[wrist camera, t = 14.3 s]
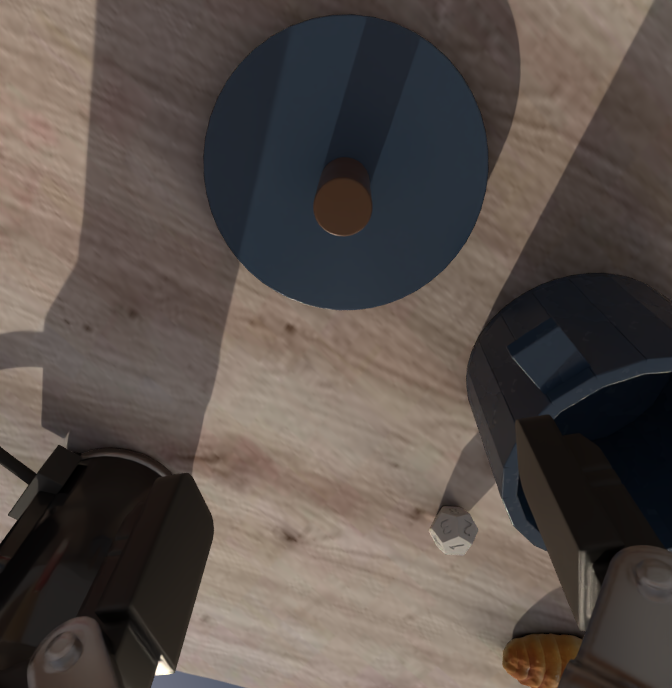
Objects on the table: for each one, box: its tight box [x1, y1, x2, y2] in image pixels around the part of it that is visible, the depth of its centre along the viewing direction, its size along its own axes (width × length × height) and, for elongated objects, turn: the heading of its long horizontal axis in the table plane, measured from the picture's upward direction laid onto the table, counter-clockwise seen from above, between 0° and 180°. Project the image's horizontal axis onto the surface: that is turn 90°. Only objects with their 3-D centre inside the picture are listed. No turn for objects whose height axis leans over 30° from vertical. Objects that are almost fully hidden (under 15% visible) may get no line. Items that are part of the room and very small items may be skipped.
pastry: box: [502, 633, 583, 688], centre depth 47 cm, size 9×7×4 cm
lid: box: [203, 14, 488, 310], centre depth 25 cm, size 15×15×6 cm
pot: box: [466, 273, 672, 552], centre depth 29 cm, size 14×19×10 cm
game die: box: [429, 506, 478, 555], centre depth 39 cm, size 4×4×3 cm
